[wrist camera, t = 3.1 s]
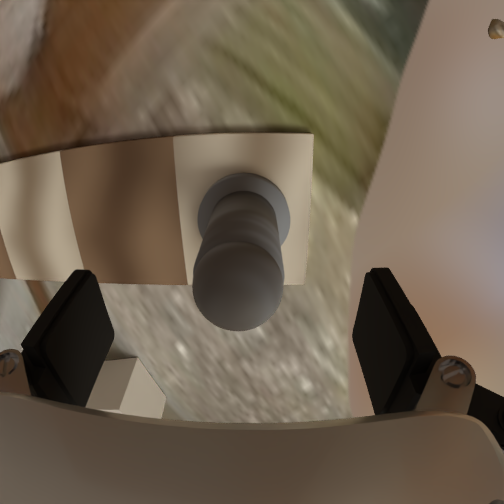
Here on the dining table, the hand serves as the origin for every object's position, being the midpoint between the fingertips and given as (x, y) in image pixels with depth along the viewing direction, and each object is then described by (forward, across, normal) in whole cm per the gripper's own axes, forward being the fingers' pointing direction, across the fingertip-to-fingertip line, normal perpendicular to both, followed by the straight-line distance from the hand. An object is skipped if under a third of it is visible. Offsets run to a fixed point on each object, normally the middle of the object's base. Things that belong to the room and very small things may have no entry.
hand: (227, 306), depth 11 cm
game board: (+10, +12, +1) cm, 16 cm away
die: (+10, +12, +18) cm, 24 cm away
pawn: (+10, 0, +1) cm, 10 cm away
